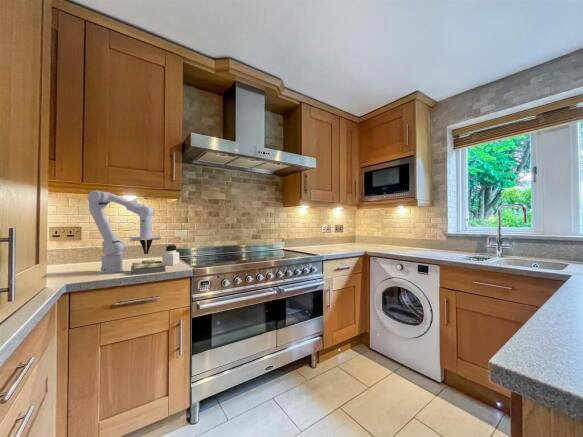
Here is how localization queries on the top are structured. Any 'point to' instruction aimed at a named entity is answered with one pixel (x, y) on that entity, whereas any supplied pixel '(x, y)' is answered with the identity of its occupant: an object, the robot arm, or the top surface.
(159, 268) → the instrument base
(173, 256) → the medicine bottle
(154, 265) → the leveling plate
